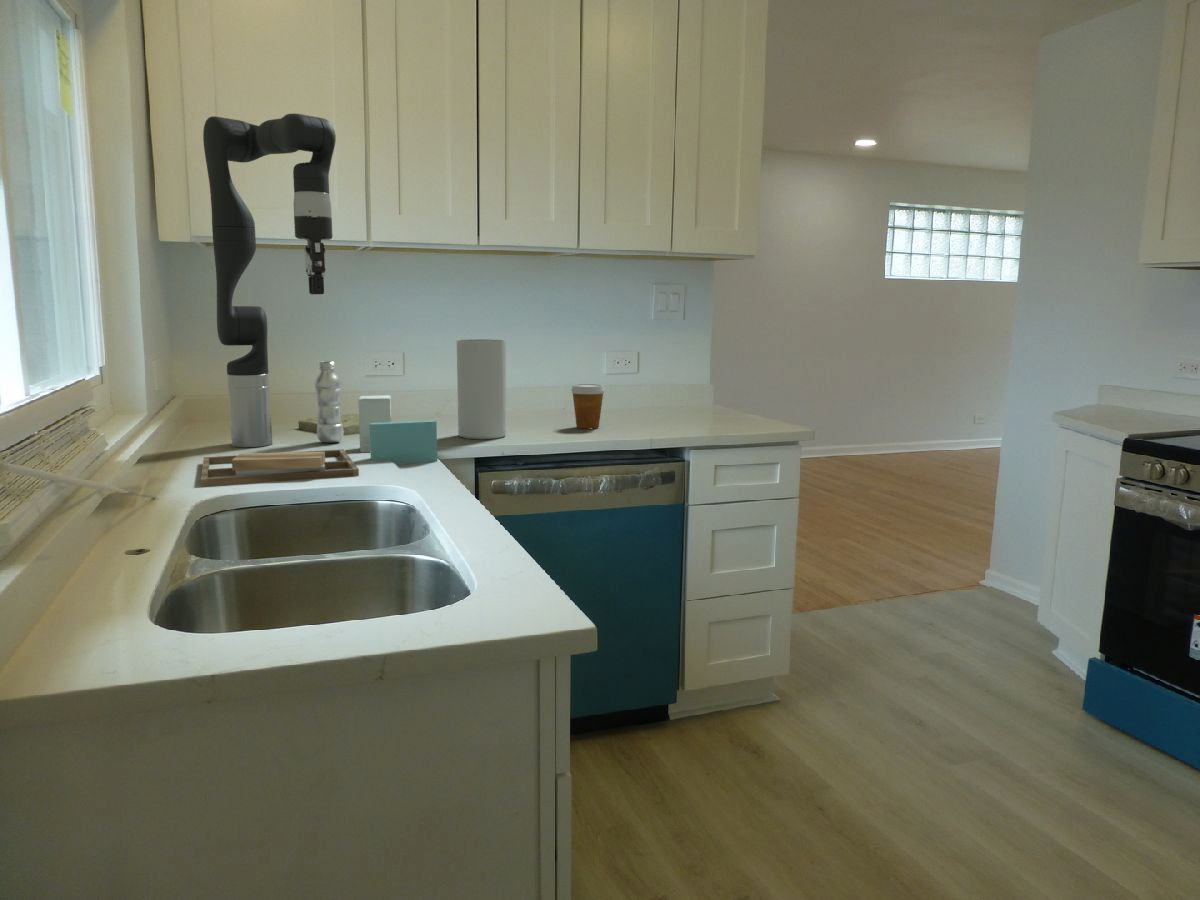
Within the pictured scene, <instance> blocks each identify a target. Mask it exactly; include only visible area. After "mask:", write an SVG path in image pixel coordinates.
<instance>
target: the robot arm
mask: <svg viewBox="0 0 1200 900" xmlns="http://www.w3.org/2000/svg"><path fill="white" fill-rule="evenodd" d="M335 131H336V130H335V128H334V126H333V124H332V123H331V122H330V121H329V120H328V119H326V118H323V117H318V116H312V115H307V114H302V113H287V114H284V116H282V117H281V118H272V119H269V120H265V121H263V122H262V123H260V124H259V125H257V124H252V123H249V122H246V121H244V120H239V119H234V118H227V117H221V116H210V117H208V118H207V119H206V120H205V123H204V126H203V131H202V133H203V134H202V136H203V137H202V139H203V149H204V156H205V164H206V170H207V176H208V183H209V193H210V205H211V207H210V208H211V232H212V243H213V253H214V264H215V274H216V277H215V278H216V330H217V336H218V340H219V342H220V343H221V345H223V346H229V347H230V346H251V349H250V351H248V352H247V354H245V355H243V356H242V357H241V356H240V357H239V358H236V359H234V360H231V361H228V362H227V364H226V379H227V390H228V405H229V406H228V407H229V409H228V410H229V423H230V435H231V446H232V447H234V448H235V447H236V448H255V447H264V446H266V447H267V446H270V445H273V429H272V426H273V425H272V409H271V392H270V377H269V357H268V354H269V353H268V352H269V351H268V317H267V313H266V311H265V310H264V308H263V307H261V306H253V305H252V306H250V305H249V306H246V305H244V306H242V305H240V306H239V305H238V306H236V305H235V306H234V305H233V297H234V293H235V290H236V288H237V285H238V283H239V281H240V279H241V277H242V275H243V274H244V272H245V271H246V269H247V268H248V266H249V265H250V263H251V261H252V260H253V258H254V256H255V253H256V250H257V242H256V241H257V240H256V225H255V224H256V223H255V220H254V217H253V214H252V213H251V211H250V209H249V208H248V206H247V205H246V203H245V201H244V199H243V198H242V197H241V195H240V193H239V192H238V191H237V189H236V186H235V184H234V183H233V180H232V177H231V171H230V168H229V167H230V165H229V162H235V163H243V164H244V163H249V162H250V163H251V162H253V161H256V160H259V159H260V158H262V157H265V156H269V155H281V154H282V155H283V154H293V153H296V152H298V151H303V152H309V153H310V152H311V153H312V154H311V155H312V156H311V159H310V160H309V162H307V161H306V162H301V163H297V164H295V165H294V167H293V169H292V172H293V173H292V175H293V176H292V177H293V179H292V180H293V193H294V194H293V221H294V222H293V224H294V225H293V226H294V237H295V238H296V239H298V240H305V241H306V242H307V245H305V247H304V248H303V254H304V262H305V263H304V266H305V268H306V270H305V273H306V275H307V278H308V293H309V294H310V295H324V294H325V284H324V283H325V282H324V277H325V274H326V273H325V272H326V249H325V244H324V242H322V241H328V240H329V241H330V240H332V239H333V221H332V219H333V217H332V202H331V196H330V179H329V174H330V170H331V164H332V160H333V159H332V158H333V154H334V151H335V146H336V139H337V137H336V136H337V135H336V132H335Z"/></svg>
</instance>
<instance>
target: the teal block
mask: <svg viewBox="0 0 1200 900" xmlns="http://www.w3.org/2000/svg"><path fill="white" fill-rule="evenodd" d="M369 427H370V452H369V453H370V460H372V461H381V460H383V461H384V460H390V461H391V462H392V463H393V464H394V465H401V464H402V465H403V464H419V463H420V464H421V463H434V462H435V463H436V462H438V432H437V429H438V428H437V420H434V419H429V420H426V419H425V420H409V421H408V420H406V421H392V422H381V423H369Z"/></svg>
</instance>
